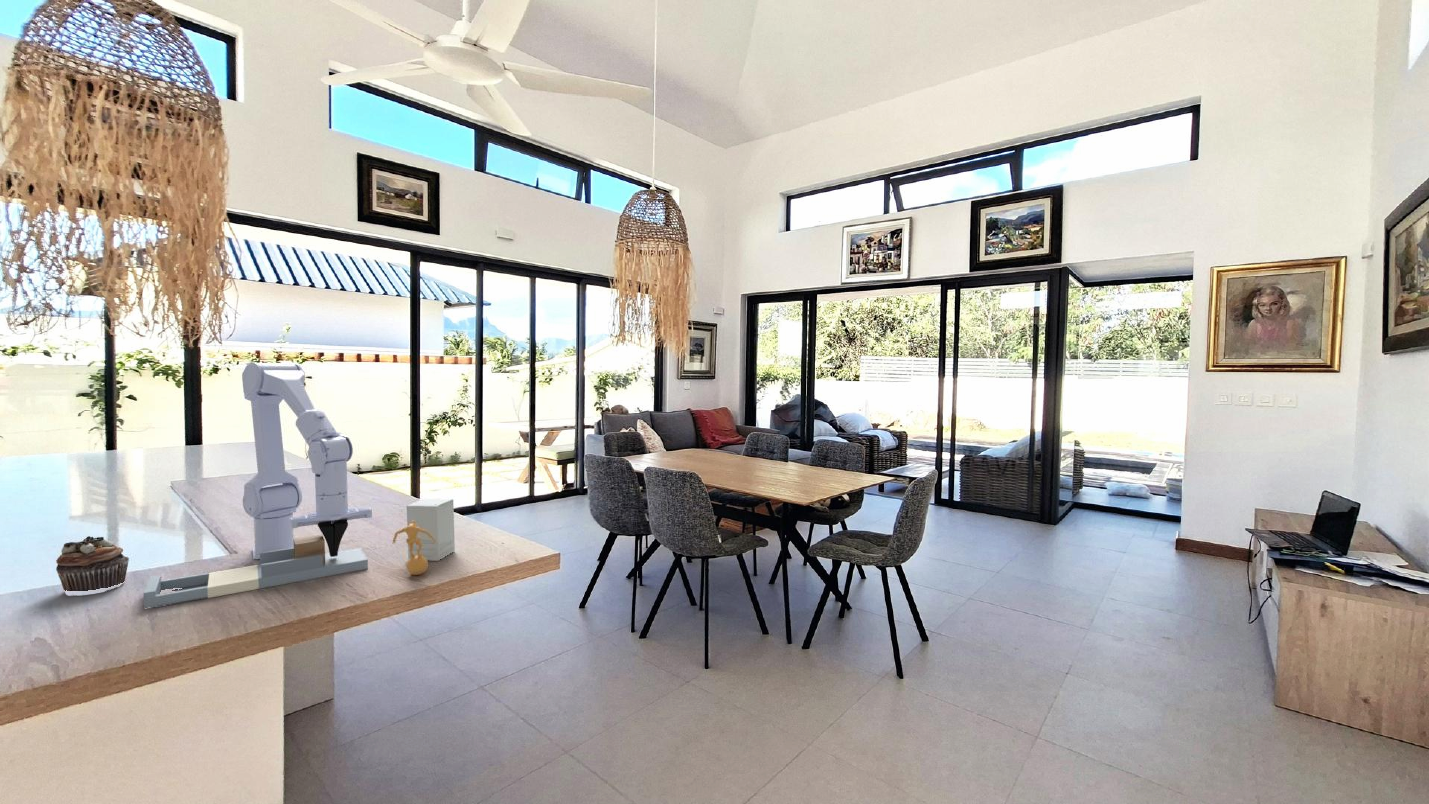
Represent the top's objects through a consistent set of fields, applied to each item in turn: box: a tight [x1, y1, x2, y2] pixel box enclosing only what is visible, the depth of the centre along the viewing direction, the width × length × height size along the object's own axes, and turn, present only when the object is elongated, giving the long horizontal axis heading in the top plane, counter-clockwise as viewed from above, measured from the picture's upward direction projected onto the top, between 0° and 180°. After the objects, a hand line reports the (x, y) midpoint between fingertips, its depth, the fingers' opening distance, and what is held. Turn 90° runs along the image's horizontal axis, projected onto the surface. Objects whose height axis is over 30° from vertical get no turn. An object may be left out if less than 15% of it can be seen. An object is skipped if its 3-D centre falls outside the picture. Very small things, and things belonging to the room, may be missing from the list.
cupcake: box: [55, 535, 130, 591], centre depth 112 cm, size 10×10×10 cm
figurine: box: [392, 520, 436, 576], centre depth 121 cm, size 8×6×12 cm
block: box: [293, 534, 326, 564], centre depth 122 cm, size 5×5×5 cm
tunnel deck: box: [143, 547, 369, 608], centre depth 118 cm, size 10×34×4 cm, turn 129°
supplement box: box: [406, 497, 456, 562], centre depth 134 cm, size 7×7×13 cm
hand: (333, 555), depth 125 cm, fingers closed
